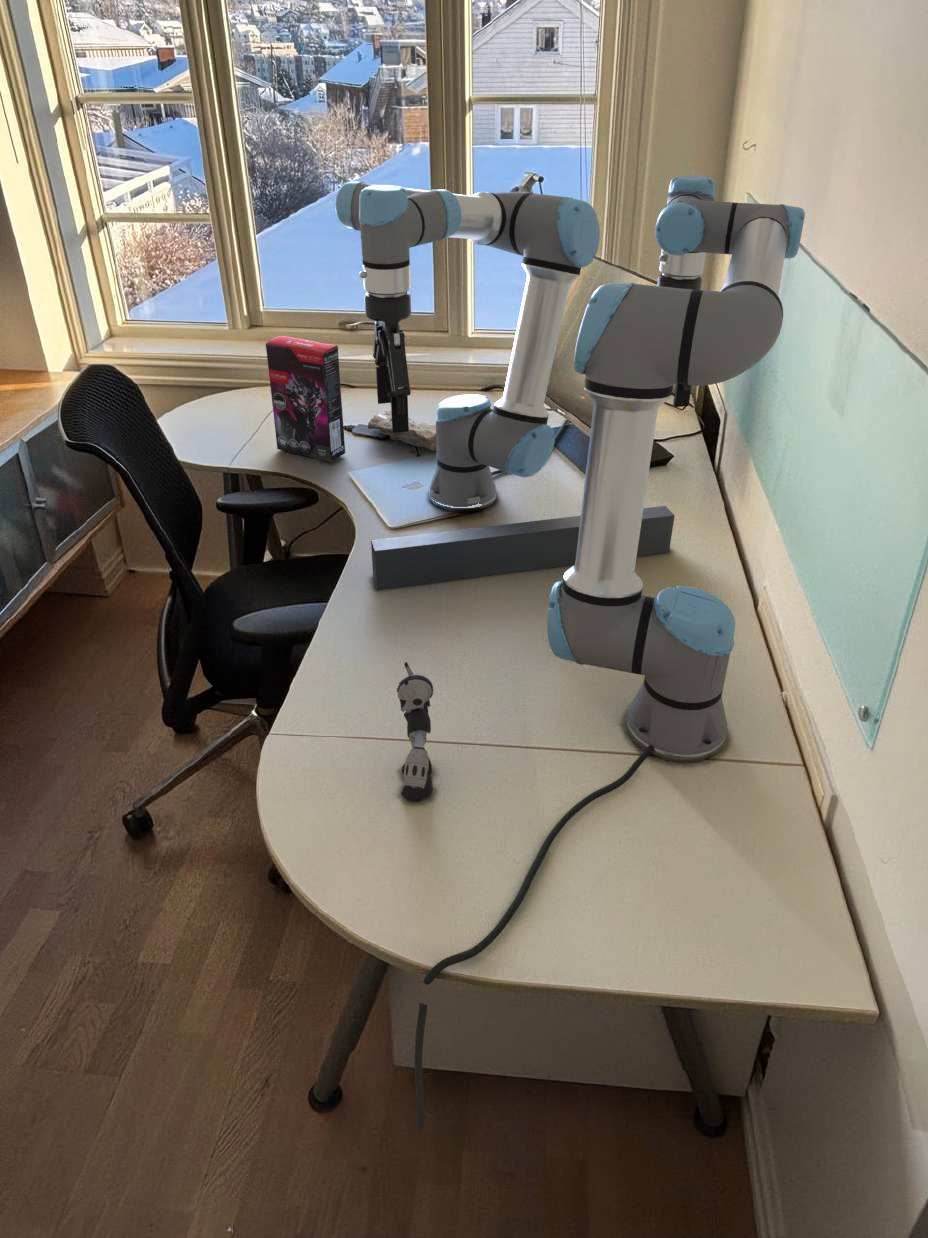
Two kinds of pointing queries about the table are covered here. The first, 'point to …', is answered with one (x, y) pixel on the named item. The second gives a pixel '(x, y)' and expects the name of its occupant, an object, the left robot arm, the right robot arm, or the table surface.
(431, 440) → the stone
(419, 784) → the robot
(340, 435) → the graphics card box
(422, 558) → the post
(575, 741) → the table surface
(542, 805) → the table surface
